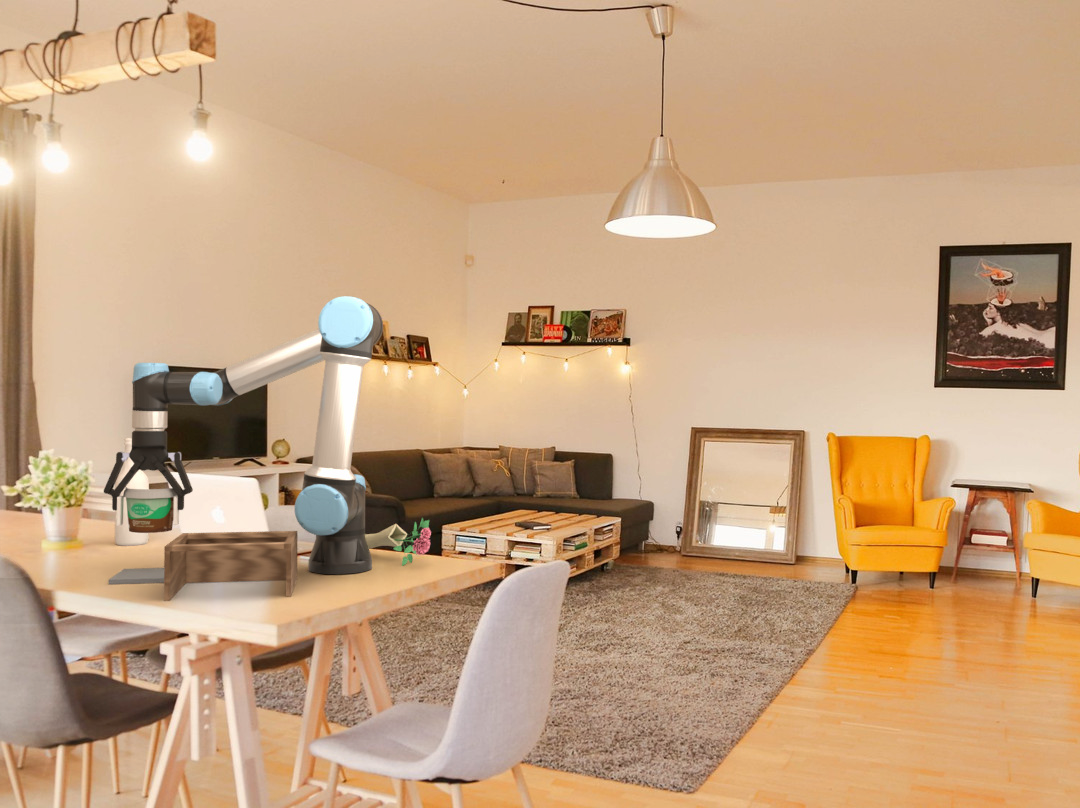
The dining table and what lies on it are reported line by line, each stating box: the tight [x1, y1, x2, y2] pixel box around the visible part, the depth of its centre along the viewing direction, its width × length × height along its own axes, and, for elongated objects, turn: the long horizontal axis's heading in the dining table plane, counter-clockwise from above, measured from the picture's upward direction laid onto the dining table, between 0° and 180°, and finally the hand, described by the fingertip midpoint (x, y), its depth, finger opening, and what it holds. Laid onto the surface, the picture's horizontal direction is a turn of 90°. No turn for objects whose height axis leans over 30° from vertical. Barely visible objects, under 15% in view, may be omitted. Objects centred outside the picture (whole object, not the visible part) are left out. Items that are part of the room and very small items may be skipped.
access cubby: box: [163, 530, 298, 602], centre depth 203 cm, size 25×20×11 cm
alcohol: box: [114, 437, 150, 547], centre depth 266 cm, size 9×9×30 cm
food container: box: [123, 487, 177, 534], centre depth 215 cm, size 12×6×10 cm, turn 98°
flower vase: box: [365, 516, 432, 567], centre depth 240 cm, size 12×12×35 cm
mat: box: [107, 567, 164, 585], centre depth 215 cm, size 14×14×1 cm
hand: (148, 524), depth 215 cm, fingers closed on food container, 11 cm apart
